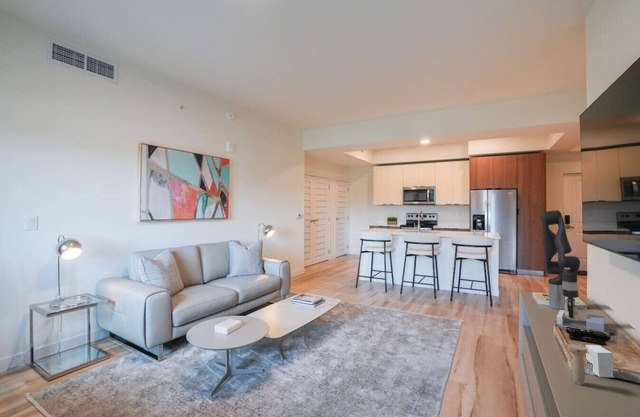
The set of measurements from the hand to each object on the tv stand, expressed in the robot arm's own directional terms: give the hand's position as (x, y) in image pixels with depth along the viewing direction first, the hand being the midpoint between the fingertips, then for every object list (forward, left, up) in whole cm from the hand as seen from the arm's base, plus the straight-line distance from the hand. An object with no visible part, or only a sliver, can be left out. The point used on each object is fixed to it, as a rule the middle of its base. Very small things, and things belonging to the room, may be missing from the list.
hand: (571, 316), depth 185 cm
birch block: (0, 0, -1) cm, 1 cm away
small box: (+61, +14, -5) cm, 63 cm away
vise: (0, +5, -5) cm, 7 cm away
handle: (+77, +8, -5) cm, 77 cm away
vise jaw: (0, +11, -3) cm, 11 cm away
